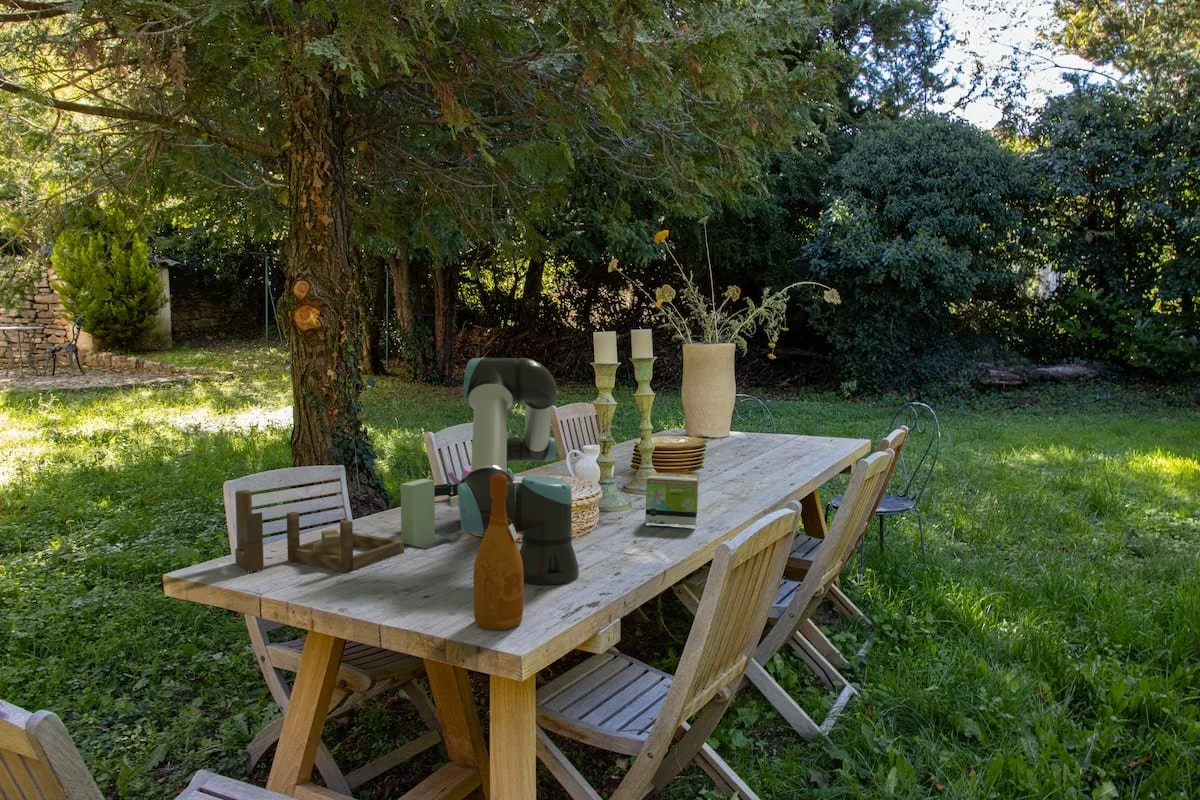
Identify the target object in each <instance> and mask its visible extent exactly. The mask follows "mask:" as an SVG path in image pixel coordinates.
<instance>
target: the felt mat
mask: <svg viewBox="0 0 1200 800" xmlns="http://www.w3.org/2000/svg"><path fill="white" fill-rule="evenodd" d="M392 539H393V540H399V541H401V535H400V536H397V537H393V538H392ZM448 541H449V542H451V538H450V539H449V538H445V537H437V536H435V538H432V539H429V540H426V541H423V542H420V543H417V544H414V545H410V544H405V543H404V545H405V546H404V547H409V546H412V547H411V548H415V547H418V548H417V549H420V548H424V549H423V550H429V549H431V548H430V547H432V548H434V547H433V546H435V547H437V545H438V546H440V545H443V544H445V542H446V543H448ZM442 543H443V544H442ZM439 544H440V545H439ZM428 548H429V549H428Z"/></svg>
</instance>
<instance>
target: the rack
mask: <svg viewBox="0 0 1200 800" xmlns="http://www.w3.org/2000/svg"><path fill="white" fill-rule="evenodd" d="M353 529H354V527H353V520H343V521H340V522H339V534H340V549H341V556H336V555H331V554H326V553H321V552H316V551H313V544H314V543H317V542H319V541H322V538H320V539H315V540H312V541H310V542H307V543H303V544H300V543H301V542H300V540H301V539H300V513H299V512H297V511H289V512H287V513H286V531H287V532H286V533H287V534H286V535H287V539H286V540H287V542H286V543H287V544H286V545H287V561H288V560H290V561H289V562H292V561H296V562H295V563H299V562H302V563H301V564H303V563H306V564H305V565H308V564H311V565H310V566H313V565H316V566H315V567H318V566H320V567H319V568H323V567H324V568H323V569H328V568H329V569H328V570H332V569H334V571H337V570H338V572H340V573H345V572H346V573H345V574H348V573H351V572H353V571H357V570H359V569H361V568H365V567H368V566H371V565H373V564H372V563H374V564H376V563H379V562H382V561H384V560H383V559H385V560H387V559H386V558H388V559H390V558H389V557H391V558H393V557H396V556H399V555H401V553H402V554H405V546H404V541H399V540H393V538H388V537H387V538H386V537H381V536H374V535H370V534H369V535H368V534H364V533H358V532H354V531H353ZM358 546H359V547H358ZM354 547H358V548H363V547H365V549H368V550H367V551H364V552H360V553H357V554H355V555H354ZM369 548H371V549H369ZM398 554H399V555H398ZM395 555H396V556H395ZM392 556H393V557H392ZM381 560H382V561H381ZM378 561H379V562H378ZM375 562H376V563H375ZM370 564H371V565H370ZM367 565H368V566H367ZM356 569H357V570H356Z"/></svg>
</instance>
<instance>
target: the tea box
mask: <svg viewBox="0 0 1200 800" xmlns="http://www.w3.org/2000/svg"><path fill="white" fill-rule="evenodd" d="M645 493H646V494H645V523H655V524H679V525H697V521H696V519H697V520H698V497H699V494H698V493H699V475H698V474H685V473H684V474H682V473H681V474H680V473H663V472H662V473H661V472H649V475H648V476H647V478H646V491H645Z"/></svg>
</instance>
